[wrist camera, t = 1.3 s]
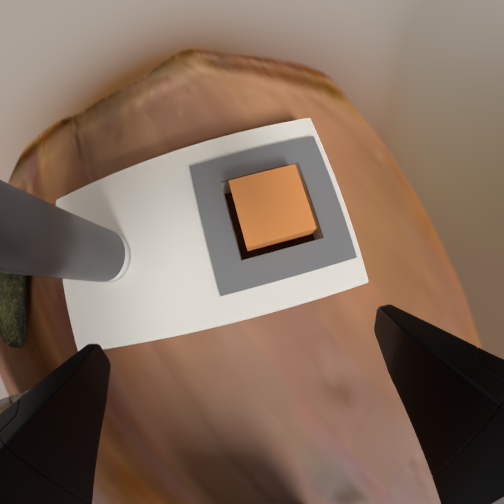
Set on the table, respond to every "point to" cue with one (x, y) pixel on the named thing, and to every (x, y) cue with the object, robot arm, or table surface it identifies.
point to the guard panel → (208, 240)
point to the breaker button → (272, 207)
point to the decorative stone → (13, 309)
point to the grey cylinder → (56, 241)
